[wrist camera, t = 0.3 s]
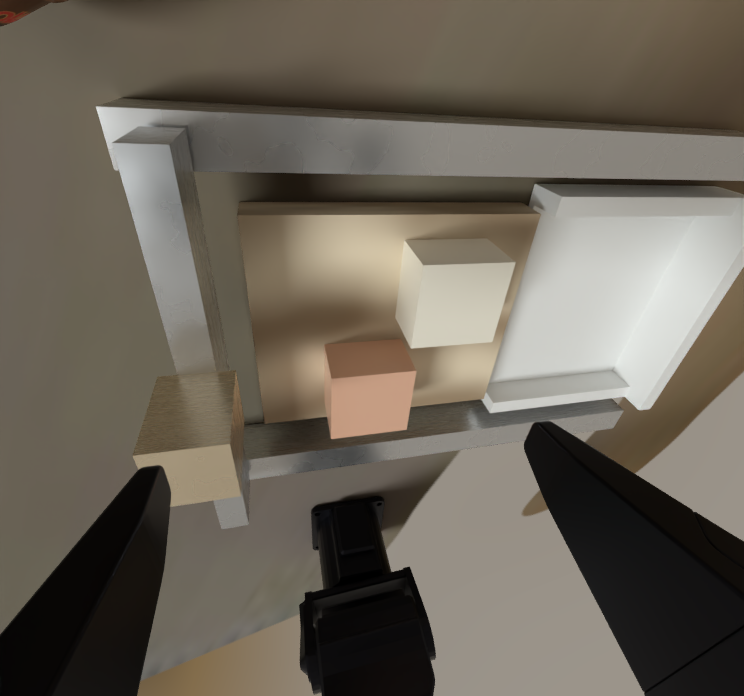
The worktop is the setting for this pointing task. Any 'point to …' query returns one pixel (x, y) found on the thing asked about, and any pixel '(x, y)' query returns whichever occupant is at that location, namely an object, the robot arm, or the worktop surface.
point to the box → (615, 291)
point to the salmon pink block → (367, 387)
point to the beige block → (451, 291)
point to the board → (360, 291)
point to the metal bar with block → (185, 332)
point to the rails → (422, 157)
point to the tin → (20, 9)
